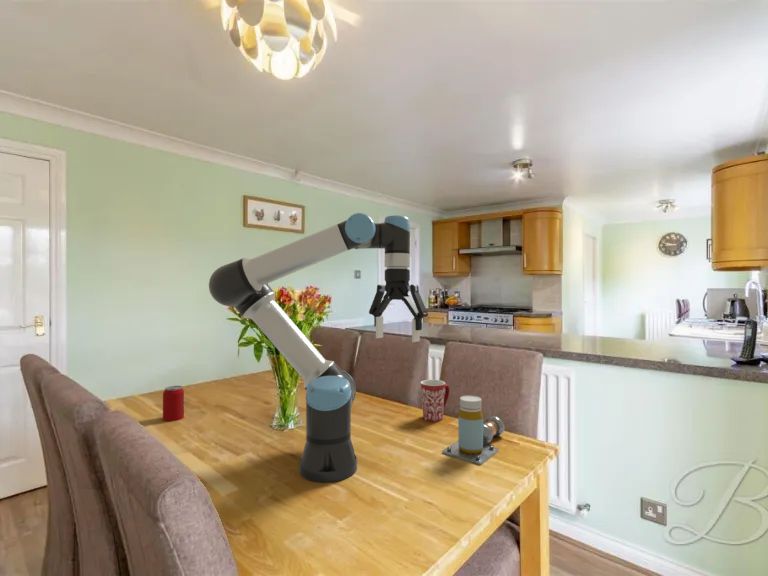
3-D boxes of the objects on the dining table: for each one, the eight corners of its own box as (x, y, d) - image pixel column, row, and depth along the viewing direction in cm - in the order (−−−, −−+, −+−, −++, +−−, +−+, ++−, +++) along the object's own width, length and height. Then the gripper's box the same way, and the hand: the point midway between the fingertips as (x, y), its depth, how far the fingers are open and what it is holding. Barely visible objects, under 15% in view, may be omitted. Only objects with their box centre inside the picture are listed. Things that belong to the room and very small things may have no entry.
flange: (480, 465, 108) (480, 443, 108) (442, 453, 115) (442, 432, 115) (513, 439, 126) (513, 420, 126) (478, 430, 134) (478, 412, 134)
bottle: (485, 454, 112) (485, 401, 112) (460, 454, 113) (460, 401, 113) (480, 444, 119) (480, 395, 119) (456, 444, 120) (456, 395, 119)
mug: (432, 424, 139) (432, 386, 139) (415, 417, 147) (415, 381, 147) (457, 418, 147) (457, 381, 147) (440, 411, 154) (440, 377, 154)
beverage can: (187, 417, 146) (187, 385, 146) (176, 424, 140) (176, 390, 140) (170, 417, 147) (170, 385, 147) (158, 423, 140) (158, 389, 140)
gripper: (439, 267, 113) (439, 341, 113) (373, 270, 129) (373, 335, 129) (425, 266, 107) (425, 344, 107) (357, 269, 123) (357, 337, 123)
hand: (397, 339), depth 118 cm, fingers open, 13 cm apart
